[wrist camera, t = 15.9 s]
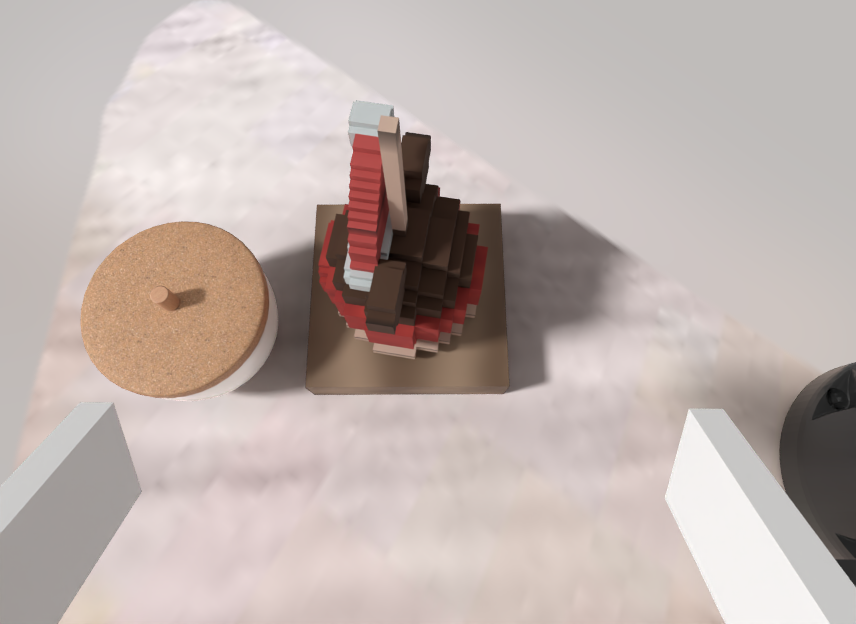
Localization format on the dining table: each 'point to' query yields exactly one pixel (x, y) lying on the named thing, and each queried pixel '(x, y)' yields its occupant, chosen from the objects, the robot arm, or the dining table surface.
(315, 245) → the plinth
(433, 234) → the cake
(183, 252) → the lidded jar
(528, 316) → the dining table surface
